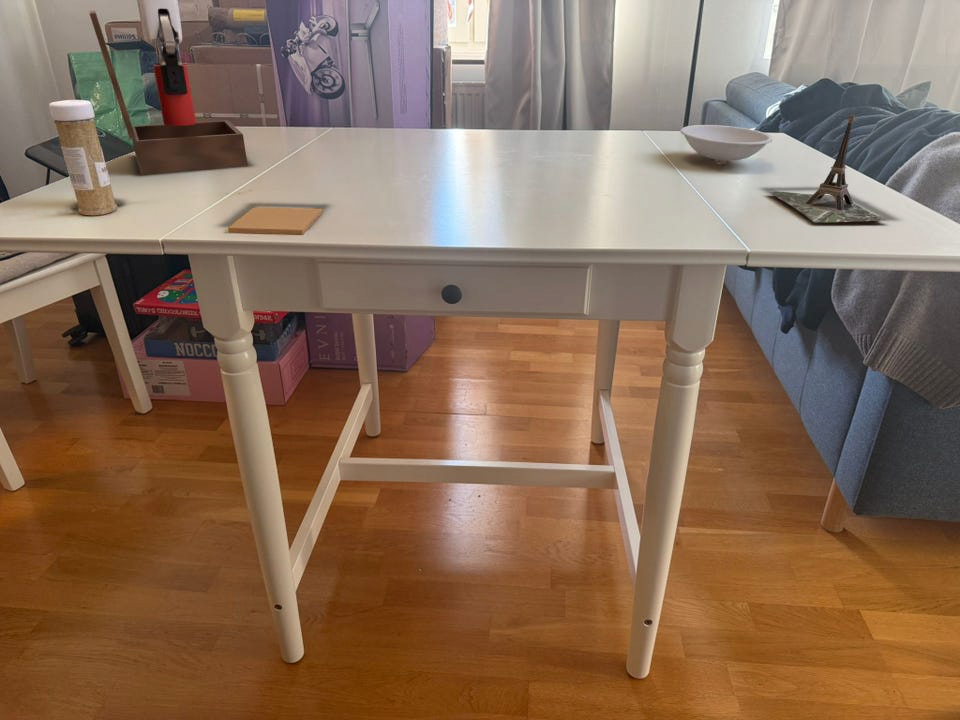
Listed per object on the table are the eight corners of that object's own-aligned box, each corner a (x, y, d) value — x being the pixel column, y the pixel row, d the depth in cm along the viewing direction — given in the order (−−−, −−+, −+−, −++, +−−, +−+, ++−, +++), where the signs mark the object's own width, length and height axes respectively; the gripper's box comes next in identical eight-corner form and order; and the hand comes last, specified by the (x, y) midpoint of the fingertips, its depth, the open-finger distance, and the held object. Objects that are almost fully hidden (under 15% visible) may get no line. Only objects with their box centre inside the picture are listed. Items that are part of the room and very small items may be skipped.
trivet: (228, 232, 80) (227, 227, 80) (254, 211, 88) (254, 206, 88) (303, 234, 80) (302, 229, 79) (322, 213, 88) (322, 208, 87)
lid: (95, 10, 102) (89, 11, 101) (95, 12, 90) (89, 13, 90) (130, 122, 110) (125, 123, 110) (135, 137, 99) (129, 138, 98)
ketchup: (165, 126, 104) (152, 55, 99) (162, 122, 108) (149, 53, 103) (198, 125, 106) (186, 55, 101) (194, 120, 110) (183, 53, 105)
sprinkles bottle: (124, 210, 88) (98, 101, 81) (90, 218, 84) (59, 105, 78) (106, 204, 90) (79, 97, 84) (71, 212, 87) (40, 101, 80)
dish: (662, 153, 124) (666, 125, 122) (735, 152, 126) (740, 124, 124) (702, 175, 109) (707, 143, 106) (785, 174, 111) (792, 142, 108)
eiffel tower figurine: (764, 194, 98) (785, 97, 92) (832, 194, 99) (857, 98, 93) (813, 225, 85) (841, 114, 79) (891, 225, 86) (925, 115, 79)
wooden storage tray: (233, 154, 119) (228, 120, 116) (248, 171, 108) (243, 134, 105) (137, 162, 113) (128, 126, 110) (142, 181, 101) (133, 141, 99)
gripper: (119, -43, 101) (144, 87, 110) (124, -49, 88) (152, 99, 96) (173, -40, 104) (193, 86, 113) (185, -46, 91) (207, 98, 99)
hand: (174, 91), depth 105 cm, fingers closed on ketchup, 4 cm apart
